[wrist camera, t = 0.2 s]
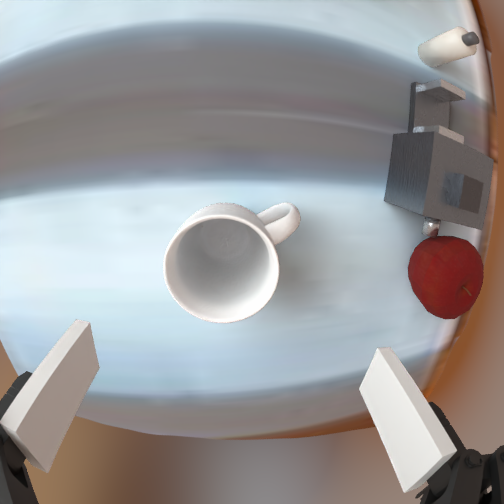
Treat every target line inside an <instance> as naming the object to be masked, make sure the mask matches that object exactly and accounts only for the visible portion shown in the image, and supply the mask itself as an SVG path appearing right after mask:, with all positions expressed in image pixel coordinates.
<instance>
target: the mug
mask: <svg viewBox="0 0 504 504" xmlns="http://www.w3.org/2000/svg"><path fill="white" fill-rule="evenodd" d="M280 218H281V219H280ZM278 219H279V220H278ZM276 220H277V221H276ZM274 221H275V222H274ZM300 221H301V218H300V214H299V211H298V209H297V208H296V207H295V206H294V205H293V204H291V203H280V204H277V205H275V206H272V207H270V208H268V209H266V210H264V211H262V212H261V213H259V214H257V215H255V214H254V213H253V212H252V211H250V210H248V209H247V208H244V207H243V206H240V205H236V204H234V203H232V204H231V203H216V204H213V205H210V206H206V207H205V208H203V209H201V210H198V211H197V212H196V213H194V214H193V215H192V216H191V217H189V219H187V220H186V221H185V222H184V224H183V225H182V226H181V227H180V228H179V229H178V231H177V232H176V234H175V235H174V237H173V238H172V240H171V241H170V243H169V245H168V247H167V250H166V253H165V256H164V263H163V271H164V278H165V282H166V285H167V287H168V290H169V292H170V294H171V295H172V297H173V298H174V299H175V301H176V302H177V303H178V304H179V305H180V306H181V307H182V308H183V309H184V310H186V311H187V312H188V313H190V314H192V315H193V316H195V317H197V318H200V319H202V320H205V321H209V322H215V323H231V322H236V321H240V320H243V319H246V318H248V317H250V316H252V315H254V314H255V313H257V312H258V311H260V310H261V309H262V308H263V307H264V306H265V305H266V304H267V303H268V302H269V300H270V299H271V297H272V296H273V294H274V292H275V290H276V287H277V284H278V280H279V269H280V267H279V259H278V255H277V251H276V248H275V245H277V244H279V243H280V242H282V241H283V240H285V239H286V238H288V237H289V236H290V235H291V234H292V233H293V232H294V231H295V230H296V229H297V227H298V226H299V224H300ZM269 223H270V224H269Z"/></svg>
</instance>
